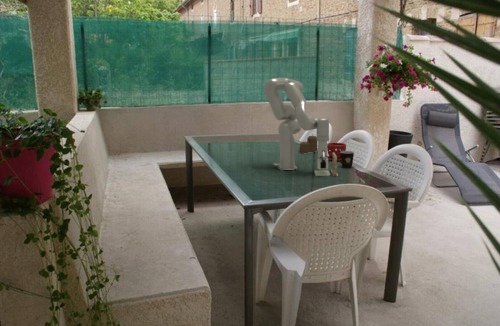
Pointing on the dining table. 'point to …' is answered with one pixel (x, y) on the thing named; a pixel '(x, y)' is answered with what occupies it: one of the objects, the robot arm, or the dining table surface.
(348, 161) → the coffee mug
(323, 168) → the letter cube
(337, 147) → the plant pot
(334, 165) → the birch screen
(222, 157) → the dining table surface
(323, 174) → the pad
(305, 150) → the brown stepped block
